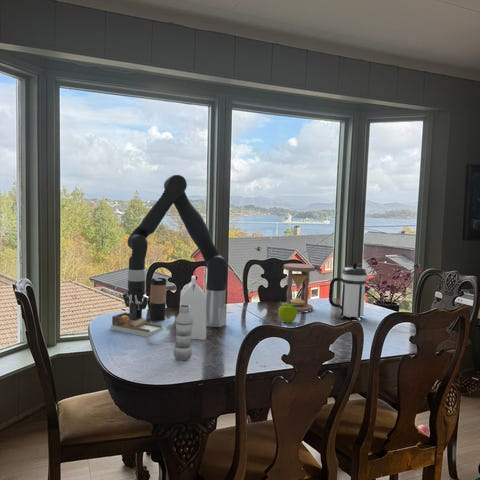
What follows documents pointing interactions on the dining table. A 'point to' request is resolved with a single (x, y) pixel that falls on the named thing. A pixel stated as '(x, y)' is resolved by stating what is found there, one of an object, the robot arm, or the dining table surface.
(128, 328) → the shallow rectangular tray
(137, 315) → the robot arm
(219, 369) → the dining table surface
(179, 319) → the plastic bottle
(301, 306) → the hourglass
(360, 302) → the coffee press
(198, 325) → the milk
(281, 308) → the fruit
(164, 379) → the dining table surface
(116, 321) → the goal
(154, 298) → the travel mug
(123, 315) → the ball
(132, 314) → the kicker
